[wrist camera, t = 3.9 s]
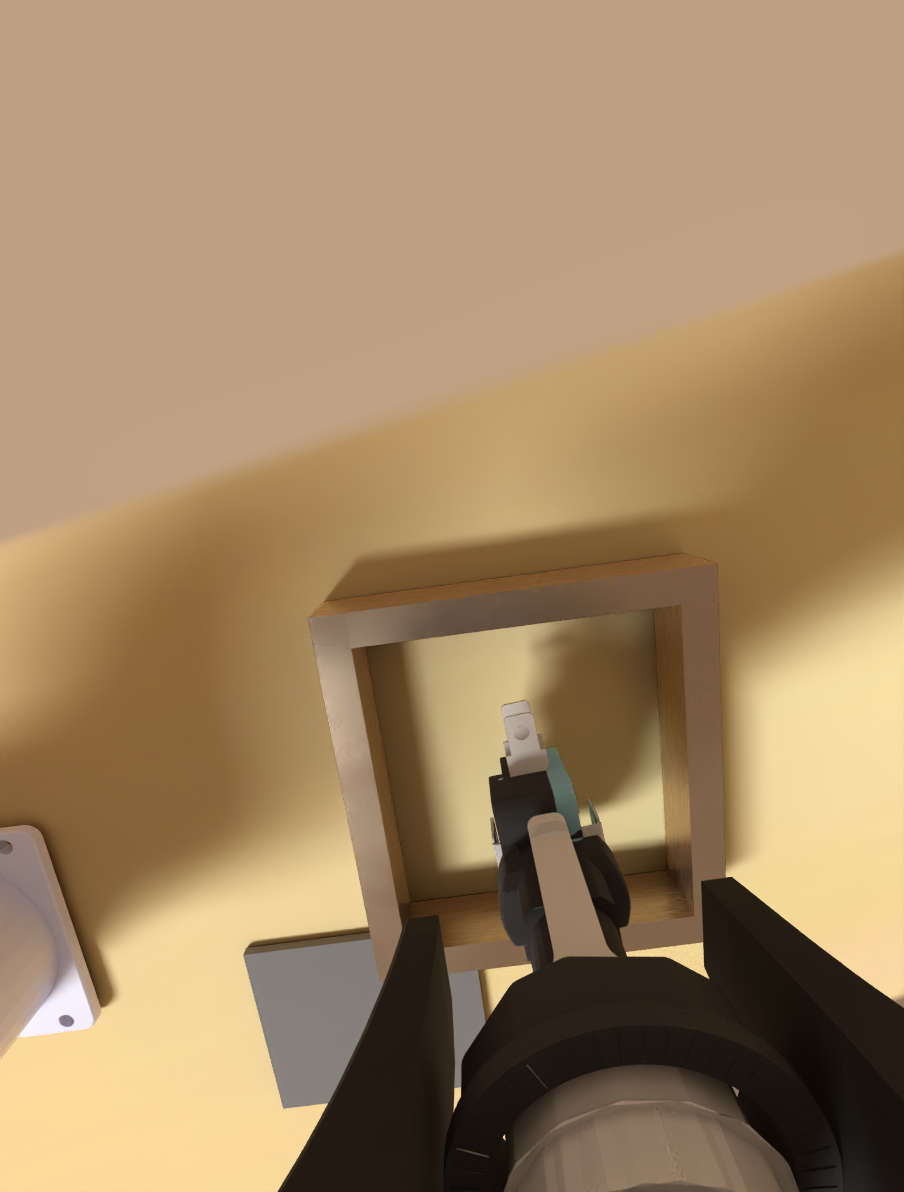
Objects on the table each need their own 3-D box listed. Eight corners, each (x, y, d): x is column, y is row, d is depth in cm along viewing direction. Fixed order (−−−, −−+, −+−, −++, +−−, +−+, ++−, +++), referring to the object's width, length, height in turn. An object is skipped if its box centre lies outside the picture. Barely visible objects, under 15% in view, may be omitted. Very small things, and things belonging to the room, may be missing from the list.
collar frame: (386, 930, 19) (379, 982, 17) (323, 601, 16) (307, 618, 14) (697, 891, 19) (727, 939, 17) (683, 553, 16) (717, 563, 14)
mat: (285, 1099, 20) (283, 1108, 20) (246, 947, 19) (243, 955, 19) (493, 1074, 20) (494, 1082, 20) (470, 919, 19) (471, 926, 18)
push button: (426, 713, 16) (363, 1053, 6) (605, 676, 15) (865, 966, 5) (474, 913, 17) (492, 1503, 7) (644, 881, 16) (927, 1448, 6)
